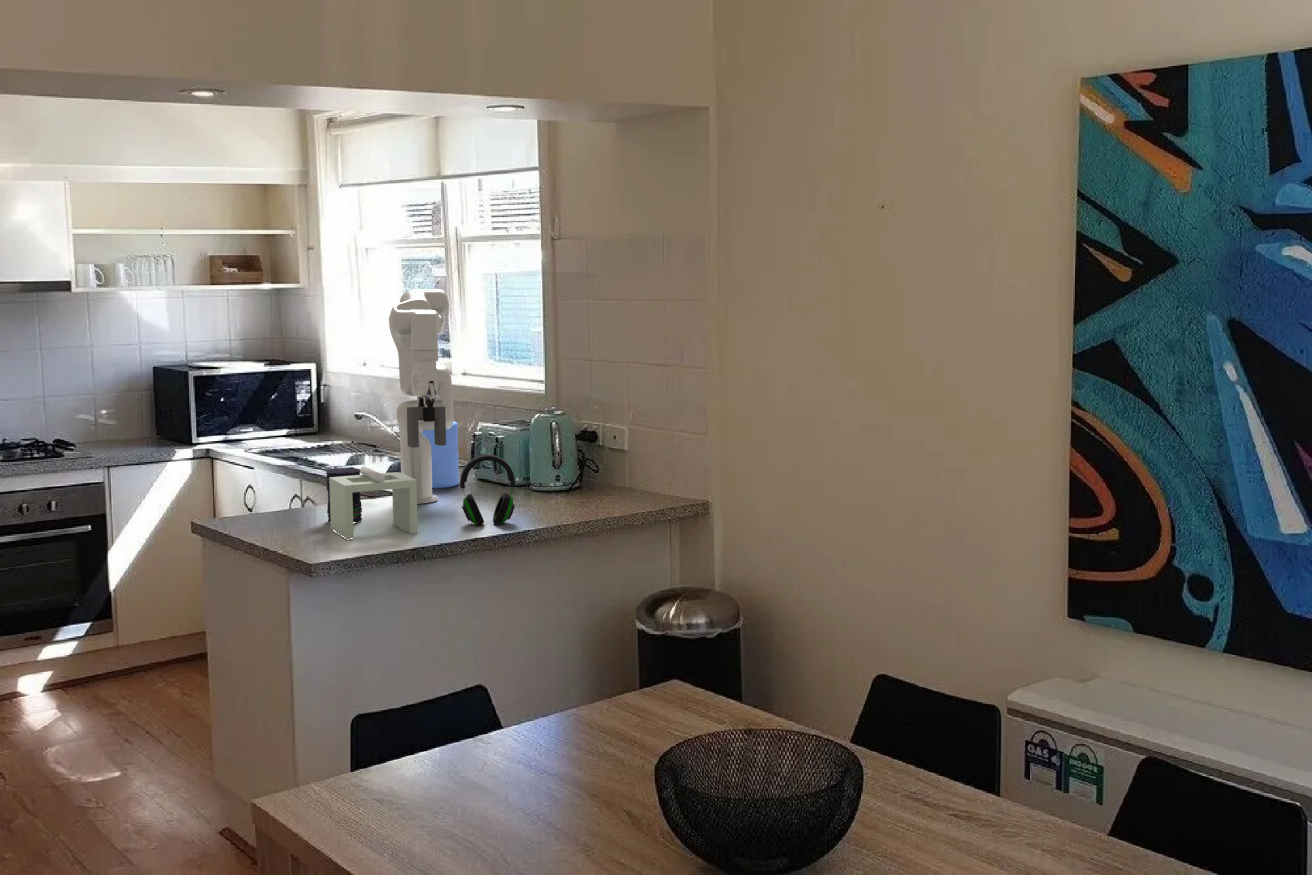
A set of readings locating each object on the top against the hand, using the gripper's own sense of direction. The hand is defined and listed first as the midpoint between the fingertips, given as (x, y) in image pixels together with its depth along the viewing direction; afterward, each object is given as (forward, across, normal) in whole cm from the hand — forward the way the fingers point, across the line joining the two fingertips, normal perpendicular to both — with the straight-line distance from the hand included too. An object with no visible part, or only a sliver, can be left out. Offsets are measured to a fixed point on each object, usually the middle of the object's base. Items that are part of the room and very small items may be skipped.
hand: (426, 419), depth 397 cm
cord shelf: (+30, +2, -17) cm, 35 cm away
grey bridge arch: (+7, 0, 0) cm, 7 cm away
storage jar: (+30, -17, -20) cm, 40 cm away
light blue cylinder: (+31, -65, +25) cm, 76 cm away
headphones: (+30, +7, +15) cm, 35 cm away
